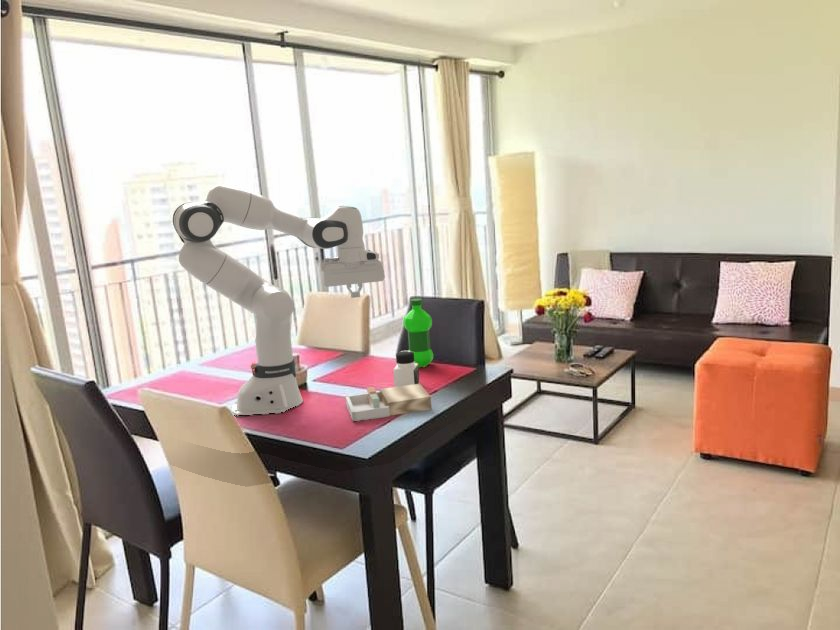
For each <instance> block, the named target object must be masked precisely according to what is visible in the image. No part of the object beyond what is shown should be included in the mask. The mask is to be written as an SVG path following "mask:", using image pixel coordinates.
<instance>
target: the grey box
mask: <svg viewBox="0 0 840 630" xmlns="http://www.w3.org/2000/svg"><path fill="white" fill-rule="evenodd" d="M376 394H377V396H378V398H379V403H380V407H378V408H371V407H370V405H369V403H368V393H367V392H363V393H357V394H348V395H345V396H344V397H345V398H344V399H345V406H346V409H347V410H348V414H349V416H350V415H351V416H350V418H351V421H352V420H353V421H357V422H361V421H360V420H364V421H370V420H369V419H371V420H376V419H383V418H389V417H391V415H390V412H389V406H384V404H383V403H382V401H381V395H380V390H376ZM353 421H352V422H353Z"/></svg>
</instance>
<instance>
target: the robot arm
mask: <svg viewBox="0 0 840 630" xmlns="http://www.w3.org/2000/svg"><path fill="white" fill-rule="evenodd" d="M223 223H229V224H232V225H236V226H239V227H242V228H247V229H251V230H259V231H263V230H274V231H277V232H281V233H284V234H287V235H290V236H293V237H295V238H297V239H298V240H299V241H301V243H303V245H305V246H306V247H308V248H314V249H323V250H329V249H332V248H334V247H337V256H336V257H326V258H324V259H323V260H321V262H320V270H321V271H322V284H323V286H324V287H326V288H327V287H328V288H329V287H330V288H331V287H337V286H338V287H339V286H341V287H342V286H345V287H346V289H347V290H348V292H349V293H350V298H351V299H355V298H360V297H361V291H362V289H363V287H364V285H363V284H365V283H366V284H368V283H376V282H383V281H384V280H385V270H384V265H383V263H382V262H381V260H379V259H380V253H378V252H377V251H373V250H370V249H365V246H366V245H365V242H364V239H363V236H364V226H363V218H362V215H361V211H360V210H359V209H358V208H357V207H355V206H350V205H349V206H348V205H347V206H346V205H345V206H344V205H339V206H335V208H334V209H333V210H332V211H330V212H329V213H327V215H324V216H323V217H316V216H312V217H299V216H297V215H293V214H290V213H287V212H285V211H281V210H280V209H278V208H277V207H276V206H275V205H274V204H273V202H272V200H270V199H269V198H268V197H266V196H264V195H262V194H260V193H257V192H255V191H253V190H249V189H246V188H242V187H239V186H234V185H229V184H221V183H220V184H216V185H213V187H211V189H210V190H209V191H208V193H207V196H206V199H205V200H204V201H202V202H185V203H182V204H180V205H179V206H178V207H176V209H175V210H174V211H173V215H172V225H173V228H174V229H175V231H176V233H177V235H178V237H179V239H180V242H182V243H183V245H182V247H181V249H180V251H179V254H178V262H179V265H181V267H182V268H184V269H185V270H186V272H188V274H190V275H191V276H193V277H194V278H195V279H197V280H198V281H200V282H201V283H203V284H205V285H206V286H208V287H209V288H211V289H212V290H214V291H216V292H218V293H219V294H220V295H222V296H224V297H225V298H227V299H229V300H231V301H232V302H233V303H235V304H237V305H238V306H240V307H241V308H243V309H245V310H247V311H248V312H250V313H252V314H253V315H254V316H255V317H256V335H255V339H254V341H255V349H256V357H257V358H256V360H257V363H256V362H252V363H251V364H250V370H251V373H252V376H251V377H250V378H249V379H248V380H247V381H245V383H244V384H242V385H241V387H240V388H239V389H238V393H237V400H236V401H234V402H233V404H231V409H230V411H231V410H232V412H233V413H234V414H235V417H239V416H238V415H250V414H262V415H270V414H269V413H275V414H282V413H281V412H283V413H286V412H287V411H289V410H291V409H293V407H294V408H296V407H298V406H300V405H301V404H302V403H303V401H304V400H303V397H302V395H301V392H300V389H299V386H298V381H297V367H296V361H295V358H294V355H293V344H292V333H291V331H292V320H293V319H292V318H293V316H292V315H293V312H294V301H293V298H292V297H291V295H290V294H289V292H287V291H286V290H285V289H283V288H282V287H278V286H277V285H274V284H272V283H270V281H267V280H266V279H264V278H262V277H261V276H260V275H258V274H257V273H256V272H254V271H253V270H251V269H250V268H249V267H248V266H246V265H245V264H243V263H241V262H240V261H239V260H236V259H235V257H234V258H233V257H232V256H230V255H229V254H227V253H226V252H225V251H223V250H221V249H219V248H218V247H217V246H216V245H214V243H213V242H212V240H211V239H213V237H215V235H216V234H217V232H218V231H219V229H220V228H221V226H222V224H223ZM352 285H357V290H356V291H353V290H352V289H351V288H352ZM295 406H296V407H295ZM290 408H291V409H290ZM288 409H289V410H288ZM286 410H287V411H286ZM285 411H286V412H285ZM232 412H231V413H232ZM236 415H237V416H236ZM250 416H251V415H250Z"/></svg>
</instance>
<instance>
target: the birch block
mask: <svg viewBox="0 0 840 630" xmlns="http://www.w3.org/2000/svg"><path fill="white" fill-rule="evenodd" d="M379 391H380V395H381V401H382V403H383V404H384V406H389V412H390V416H395V415H402V414H403V415H404V414H408V413H409V414H410V413H415V412H422V411H430V410H432V396H431V395H430V394H429V393H428V392H427V390H426V389H425V388H424V387H423V385H422V384H421V383H419V384H412V385H405V386H398V387H395V386H392V387H384V388H380V389H379Z"/></svg>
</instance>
